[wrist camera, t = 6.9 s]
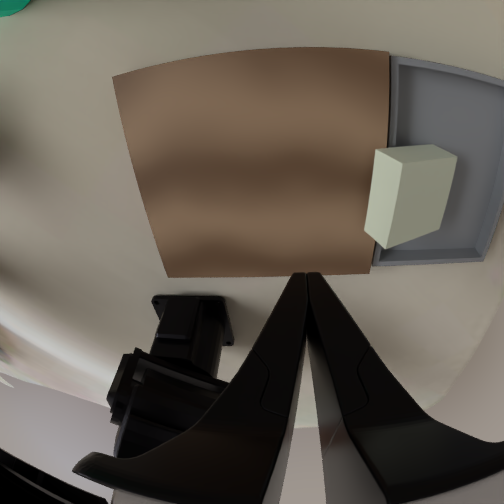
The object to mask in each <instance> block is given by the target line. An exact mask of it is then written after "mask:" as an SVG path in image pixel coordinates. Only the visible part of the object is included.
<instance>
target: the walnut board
mask: <svg viewBox="0 0 504 504" xmlns="http://www.w3.org/2000/svg"><path fill="white" fill-rule="evenodd" d="M112 79H113V84H114V89H115V94H116V99H117V103H118V108H119V112H120V117H121V121H122V125H123V129H124V134H125V138H126V142H127V146H128V150H129V153H130V157H131V161H132V165H133V169H134V172H135V176H136V179H137V183H138V186H139V190H140V193H141V197H142V200H143V203H144V207H145V210H146V213H147V216H148V220H149V223H150V226H151V229H152V232H153V235H154V238H155V241H156V244H157V247H158V250H159V253H160V256H161V259H162V262H163V265H164V268H165V271H166V273H167V276H168V278H191V277H273V276H291V275H292V274H293V273H294V272H305V273H306V274H307V272H320V273H321V274H322V275H346V274H369V272H370V267H371V262H372V256H373V251H374V245H375V240H374V239H373V238H372V237H371V236H370V235H369V234H368V233H366V232H365V231H364V228H365V222H366V216H367V210H368V203H369V196H370V190H371V182H372V175H373V167H374V158H375V149H382V148H386V147H387V133H388V113H389V52H385V51H376V50H365V49H351V48H328V47H294V48H271V49H256V50H245V51H236V52H227V53H219V54H212V55H206V56H199V57H194V58H188V59H183V60H178V61H173V62H168V63H163V64H159V65H155V66H150V67H146V68H142V69H138V70H135V71H131V72H127V73H124V74H120V75H117V76H114V77H112Z"/></svg>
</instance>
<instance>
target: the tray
mask: <svg viewBox="0 0 504 504" xmlns="http://www.w3.org/2000/svg"><path fill="white" fill-rule="evenodd" d="M428 144H434V145H436V146H438V147H440V148H442V149H444V150H446V151H448V152H450V153H451V154H453V155H455V156H457V162H456V167H455V171H454V176H453V180H452V184H451V188H450V192H449V196H448V200H447V204H446V207H445V211H444V215H443V218H442V221H441V225H440V228H439V229H438V230H436V231H433V232H431V233H428V234H425V235H423V236H420V237H417V238H415V239H412V240H409V241H407V242H404V243H401V244H399V245H396V246H393V247H391V248H388V249H384V248H383V247H382V246H381V245H380V244H379V243H378V242H377V241H376V240H375V245H374V251H373V256H372V262H371V264H372V266H396V265H420V264H442V263H462V262H481V261H484V258H485V256H486V253H487V251H488V248H489V245H490V243H491V240H492V237H493V234H494V232H495V229H496V226H497V223H498V220H499V217H500V214H501V210H502V207H503V204H504V80H501V79H497V78H494V77H491V76H488V75H484V74H481V73H477V72H474V71H470V70H466V69H462V68H458V67H454V66H449V65H445V64H440V63H435V62H430V61H424V60H418V59H412V58H405V57H398V56H390V55H389V113H388V133H387V147H386V148H392V147H403V146H414V145H428Z"/></svg>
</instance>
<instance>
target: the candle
mask: <svg viewBox="0 0 504 504" xmlns="http://www.w3.org/2000/svg"><path fill="white" fill-rule="evenodd" d="M29 2H30V0H0V17H4V16H10V15H12V14H14V13H16V12H18V11H20V10H22V9H23V8H24V7H25V6H26V5H27V4H28V3H29Z"/></svg>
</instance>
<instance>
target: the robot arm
mask: <svg viewBox="0 0 504 504" xmlns="http://www.w3.org/2000/svg"><path fill="white" fill-rule="evenodd" d="M151 302H152V304H153V307H154V309H155V311H156V313H157V315H158V317H159V320H160V322H159V325H158V328H157V331H156V333H155V338H154V341H153V344H152V347H151V350H150V353H149V354H148V353H146V352H143V351H142V350H141V349H139V348H137V347H135V350H134V353H133V354H132V353H130V354H123V357H122V359H121V362H120V365H119V367H118V370H117V373H116V375H115V377H114V380H113V382H112V385H111V387H110V390H109V392H108V395H107V398H106V399H107V401H108V403H109V405H110V407H111V411H110V413H112V418H111V421H110V423H113V424H115V425H119V428H118V431H117V435H116V439H115V446H114V457H113V456H109V455H106V454H103V453H98V452H91V453H90V454H88V455H87V456H85V457H84V458H83V459H81V460H80V461H79V462H78V463H77V464H76V465H75V467H74V468H73V470H72V472H74V473H76V474H78V475H80V476H82V477H84V478H87V479H89V480H92V481H94V482H96V483H99V484H101V485H104V486H106V487H109V488H112V489H114V491H113V495H112V500H111V504H279V501H280V496H281V492H282V486H283V482H284V477H285V472H286V467H287V462H288V457H289V451H290V445H291V440H292V435H293V429H294V423H295V417H296V411H297V405H298V398H299V392H300V385H301V378H302V371H303V363H304V356H305V348H306V337H307V343H308V350H309V357H310V364H311V371H312V378H313V386H314V393H315V401H316V409H317V417H318V426H319V434H320V443H321V452H322V459H323V460H322V461H323V472H324V482H325V493H326V504H504V441H502V442H496V443H492V442H486V441H483V440H480V439H477V438H475V437H473V436H470V435H468V434H465V433H463V432H461V431H459V430H456V429H454V428H451V427H449V426H447V425H445V424H443V423H440V422H438V421H436V420H434V419H433V418H432V417H430V416H429V415H428V414H427V413H425V412H424V411H423V410H422V408H421V407H420V406H419V405H418V404H417V403H416V402H415V400H414V399H413V398H412V397H411V396H410V395H409V393H408V392H407V391H406V390H405V389H404V388H403V386H402V385H401V384H400V383H399V382H398V381H397V379H396V378H395V377H394V376H393V375H392V373H391V372H390V371H389V370H388V368H387V367H386V366H385V364H384V363H383V362H382V360H381V359H380V357H379V356H378V355H377V353H376V352H375V350H374V349H373V347H372V346H371V345H370V343H369V341H368V340H367V338H366V337H365V336H364V334H363V333H362V331H361V330H360V328H359V327H358V325H357V324H356V322H355V321H354V320H353V318H352V317H351V315H350V314H349V312H348V311H347V310H346V308H345V307H344V305H343V304H342V302H341V301H340V300H339V298H338V297H337V295H336V294H335V293H334V291H333V290H332V288H331V287H330V286H329V284H328V283H327V281H326V280H325V279H324V277H323V276H322V274H321V273H320V272H307V274H306V273H305V272H294V273H293V274H292V275H291V277H290V279H289V281H288V283H287V285H286V287H285V289H284V290H283V292H282V294H281V296H280V298H279V300H278V302H277V304H276V305H275V307H274V309H273V311H272V313H271V315H270V316H269V318H268V320H267V322H266V324H265V326H264V327H263V329H262V331H261V333H260V335H259V336H258V338H257V340H256V342H255V344H254V345H253V347H252V350H251V351H250V352H249V354H248V356H247V358H246V359H245V361H244V363H243V364H242V366H241V367H240V369H239V371H238V372H237V374H236V375H235V376H234V378H233V379H232V380H231V382H230V383H229V382H225V381H222V380H219V379H217V373H218V367H219V362H220V356H221V350H222V346H232V345H233V344H234V337H233V332H232V328H231V324H230V320H229V316H228V311H227V307H226V303H225V300H224V298H222V297H219V296H158V295H156V296H153V298H152V301H151ZM219 302H220V303H219ZM0 504H108V502H107V501H106V499H105V498H102V497H99V496H97V495H94V494H91V493H89V492H87V491H84V490H82V489H79V488H77V487H75V486H73V485H70V484H68V483H66V482H64V481H62V480H60V479H58V478H56V477H54V476H52V475H50V474H48V473H45V472H44V471H42V470H40V469H38V468H36V467H34V466H32V465H30V464H28V463H26V462H24V461H22V460H21V459H19V458H17V457H15V456H13V455H12V454H10V453H8V452H7V451H5V450H3V449H1V448H0Z"/></svg>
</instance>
